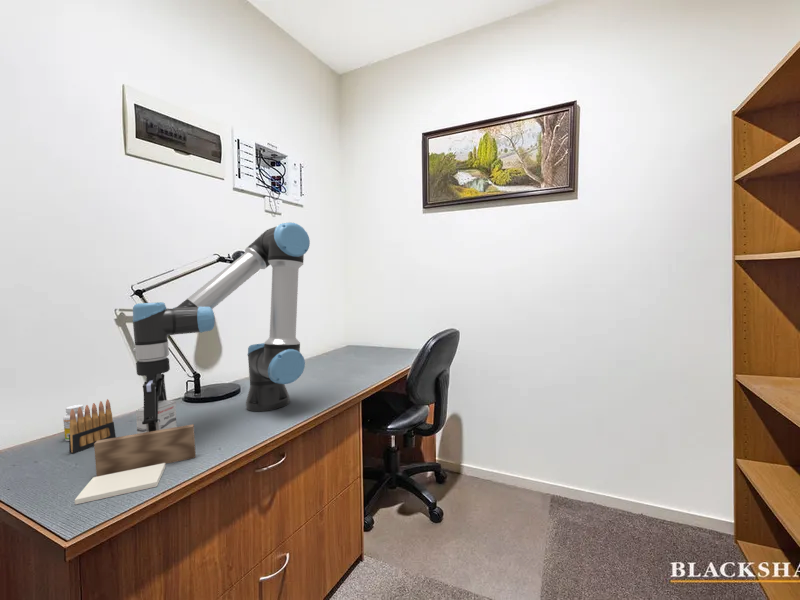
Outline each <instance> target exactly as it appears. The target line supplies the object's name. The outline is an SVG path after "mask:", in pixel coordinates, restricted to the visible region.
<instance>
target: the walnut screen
mask: <svg viewBox="0 0 800 600" xmlns="http://www.w3.org/2000/svg"><path fill="white" fill-rule="evenodd" d="M194 425H195V424H187V425H181V426H177V427H174V428H168V429H163V430H157V431H151V432H145V433H139V434H137V433H134V434H128V435H123V436H116V438H110V439H104V440H98V441H96V442H95V443H94V446H93V448H94V460H95V461H94V462H95V472H96V473H95V474H96V475H95V476H96V477H98V476H103V475H107V474H112V473H117V472H122V471H127V470H132V469H137V468H142V467H147V466H152V465H157V464H162V463H165V464H171V463H175V462H181V461H186V460H191V459H195V458H196V455H197V454H196V441H195V438H196V437H195V426H194Z"/></svg>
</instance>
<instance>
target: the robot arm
mask: <svg viewBox="0 0 800 600" xmlns="http://www.w3.org/2000/svg"><path fill="white" fill-rule="evenodd" d="M310 240H311V239H310V236H309V234H308V232H307V230H305V228H304V227H303V226H301V225H300V224H298V223H295V222H290V221H289V222H282V223H280V224H278V225H277V226H274V227H271V228H268V229H266V230H265V231H263V233H261V234H260V235H259V236H258V237H257V238H256V239H255V240H254V241H253V242H252V243H250V244H249V245H248V246H247V247H246V248H245V249H244V253H243V254H242V255H241V256H239V257H238V258H237V259H235V260H234V261H233V262H231V263H230V264H229V265H228V266H227V267H225V268H224V269H223V270H222V271H220V272H219V273H218V274H216V275H215V276H213V278H212V279H210V280H209V281H207V282H206V283H205V284H203V286H201V287H200V288H198V289H197V290H196V291H195V292H193V293H192V294H191V295H189V297H187V298H186V299H185V300H183V302H181V303H180V304H178V306H175V307H173V308H167V306H166V303H165V302H163V301H162V302H142V303H141V302H140V303H136V304H134V305H133V306H132V326H133V338H134V339H133V340H134V348H133V349H132V352H135V360H137V362H136V363H135V368H136V375H137V376H141V377H143V376H144V377H146V379H145V380H146V381H144V383H143V384H142V391H143V407H144V421H143V422H142V424H146V428H147V432H151V431H157V430H160V427H159V421H158V401H163V400H168V399H167V398H168V397H167V390H166V383H165V373H168V372H169V371H170V370H171V369H170V358H169V357H168V356H169V355H170V351H169V349H170V348H169V341H168V337H169V336H175V335H185V334H186V335H187V334H194V333H195V334H197V333H205V332H206V333H207V332H210V331H212V330H214V327H215V314H214V313H215V312H214V309H215V307H217V306H218V305H219V304H220V303H221V302H223V301H224V300H225V299H226V298H228V297H229V296H230V295H231V294H232V293H234V292H235V291H236V290H238V288H240V287H241V286H242V285H243V284H245V282H247V280H249V279H250V278H251V277H253V276H254V275H255V274H256V273H258V272H259V271H260V270H265V269H267V268H268V267H269V266H271V268H272V269H271V271H272V272H271V273H272V274H271V292H270V293H271V294H270V296H271V297H270V315H269V316H270V317H269V318H270V319H269V337H268V339H266V340H265V341H264V342H263V343H255V344H250V345H249V346H248V347H247V355H246V356H247V358H248V359H247V360H248V376H249V389H248V394H247V395H246V396H247V397H246V401H245V408H246V410H247V411H251V412H267V411H272V410H276V409H279V408H284V407H285V406H288V405H289V404H290V403H291V401H290V394H289V392H288V389H287V387H286V385H289V384H293V383H294V382H296V381H297V380H298V379H299V378H300V377H301V376H302V374H303V373H304V370H305V367H306V366H305V365H306V361H305V357H304V355H303V354H302V353H301V342H300V340H298V339H297V337H296V335H297V317H298V316H297V315H298V314H297V313H298V312H297V311H298V295H299V293H298V289H299V288H298V287H299V270H300V268H301V267H303V265H304V261H305V260H304V259H305V258H304V257H305V256H304V255H305V254H306V253H307V252H308V251H309V249H310V244H311V243H310V242H311V241H310ZM149 417H153V418H149Z"/></svg>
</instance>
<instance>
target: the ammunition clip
mask: <svg viewBox="0 0 800 600" xmlns="http://www.w3.org/2000/svg"><path fill="white" fill-rule="evenodd" d="M84 411H85V420H84V418H83V412H82V409H81V407H79V408H78V413H77V417H78V418H77V422H76V416H75V412H74V410H73V409H71V412H70V425H69V427H70V434H69V441H68V447H69V454H73V455H75V454H77V453H79V452H83V451H86V450H87V449H90V448H94V443H95V442H96V441H98V440H104V439H110V438H116V437H117V436H116V430H115V422H114V421H113V412H112V408H111V402H110V400H109V399H108V398H107V399H106V401H105V407H104V403H103V401H101V400H100V401H99V403H98V409H97V405H96V403H95V402H94V403H92V406H91V409H90V407H89V405H88V404H86V405H85V407H84Z"/></svg>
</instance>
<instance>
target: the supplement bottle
mask: <svg viewBox="0 0 800 600" xmlns="http://www.w3.org/2000/svg"><path fill="white" fill-rule="evenodd" d="M79 407H81V409H82V412H83V418H84V420H85V407H84V404H74V405H70V406H66V407H65V413H66V414H64V415H63V430H64V432H63V433H64V439H65V440H64V441H65V442H69V434H70V427H69V425H70V412H71V409H73V410H74V412H75V416H76V422H77V418H78V417H77V413H78V408H79Z"/></svg>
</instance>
